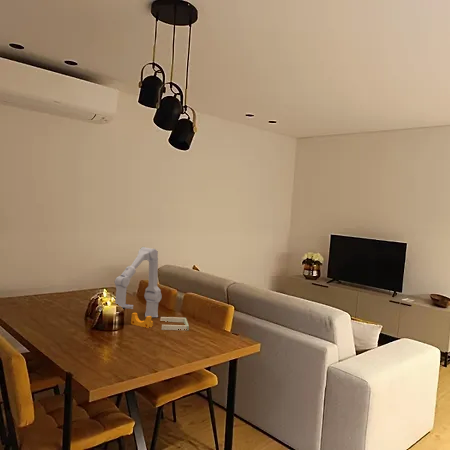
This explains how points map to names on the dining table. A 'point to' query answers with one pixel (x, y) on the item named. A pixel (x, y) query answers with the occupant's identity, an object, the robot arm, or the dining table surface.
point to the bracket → (174, 327)
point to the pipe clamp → (136, 321)
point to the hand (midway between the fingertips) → (119, 320)
